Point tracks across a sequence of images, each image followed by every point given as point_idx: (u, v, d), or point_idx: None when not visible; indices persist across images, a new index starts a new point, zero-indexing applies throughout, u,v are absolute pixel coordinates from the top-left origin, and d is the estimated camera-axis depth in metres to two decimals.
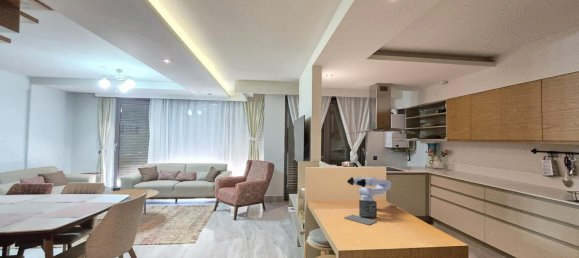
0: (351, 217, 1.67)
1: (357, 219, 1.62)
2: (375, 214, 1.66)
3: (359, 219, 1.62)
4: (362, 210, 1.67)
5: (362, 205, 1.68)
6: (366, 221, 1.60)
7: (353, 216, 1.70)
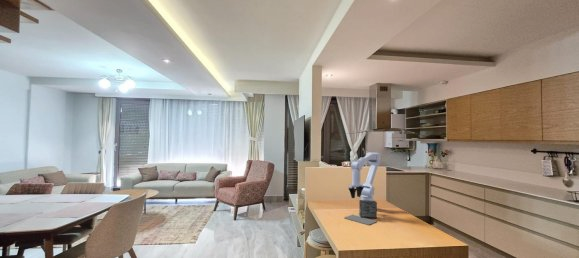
0: (351, 217, 1.67)
1: (357, 219, 1.62)
2: (375, 214, 1.66)
3: (359, 219, 1.62)
4: (362, 210, 1.67)
5: (362, 205, 1.68)
6: (366, 221, 1.60)
7: (353, 216, 1.70)
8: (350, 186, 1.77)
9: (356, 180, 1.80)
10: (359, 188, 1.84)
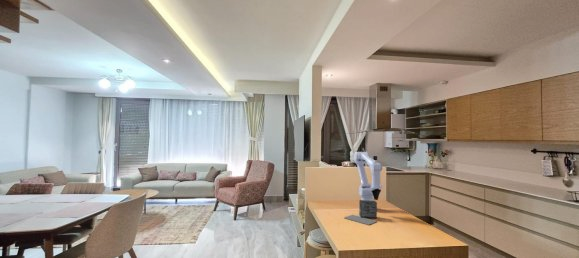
0: (351, 217, 1.67)
1: (357, 219, 1.62)
2: (375, 214, 1.66)
3: (359, 219, 1.62)
4: (362, 210, 1.67)
5: (362, 205, 1.68)
6: (366, 221, 1.60)
7: (353, 216, 1.70)
8: (370, 188, 1.73)
9: (376, 182, 1.75)
10: None
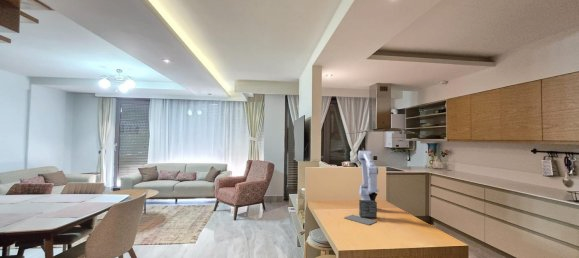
0: (351, 217, 1.67)
1: (357, 219, 1.62)
2: (375, 214, 1.66)
3: (359, 219, 1.62)
4: (362, 210, 1.67)
5: (362, 205, 1.67)
6: (366, 221, 1.60)
7: (353, 216, 1.70)
8: (367, 192, 1.69)
9: (373, 186, 1.72)
10: None
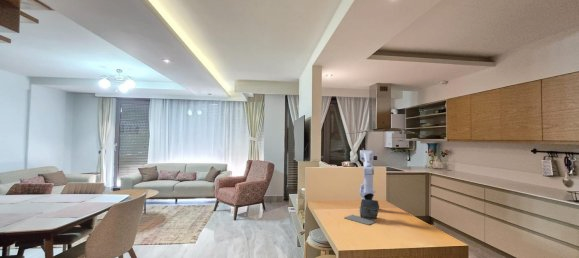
0: (351, 217, 1.67)
1: (357, 219, 1.62)
2: (375, 215, 1.65)
3: (359, 219, 1.62)
4: (363, 212, 1.65)
5: (364, 208, 1.63)
6: (366, 221, 1.60)
7: (353, 216, 1.70)
8: (362, 193, 1.66)
9: (369, 187, 1.68)
10: None
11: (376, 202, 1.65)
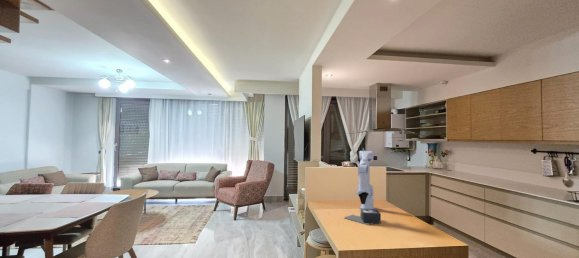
0: (351, 217, 1.67)
1: (357, 219, 1.62)
2: None
3: (359, 219, 1.62)
4: None
5: None
6: None
7: (353, 216, 1.70)
8: (357, 192, 1.61)
9: (363, 185, 1.64)
10: None
11: (378, 216, 1.56)
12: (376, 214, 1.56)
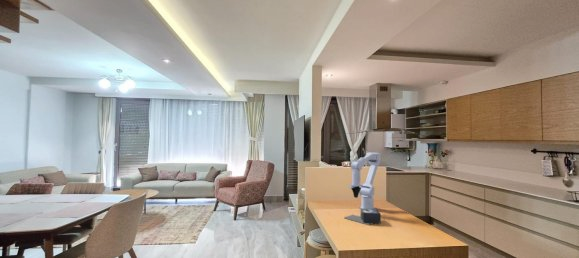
0: (351, 217, 1.67)
1: (357, 219, 1.62)
2: None
3: (359, 219, 1.62)
4: None
5: None
6: None
7: (353, 216, 1.70)
8: (350, 186, 1.77)
9: (356, 180, 1.80)
10: None
11: (378, 216, 1.56)
12: (376, 214, 1.56)
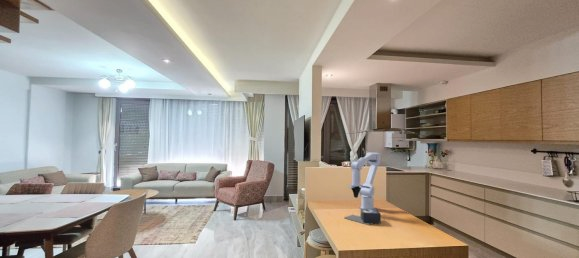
0: (351, 217, 1.67)
1: (357, 219, 1.62)
2: None
3: (359, 219, 1.62)
4: None
5: None
6: None
7: (353, 216, 1.70)
8: (350, 186, 1.77)
9: (356, 180, 1.80)
10: None
11: (378, 216, 1.56)
12: (376, 214, 1.56)
